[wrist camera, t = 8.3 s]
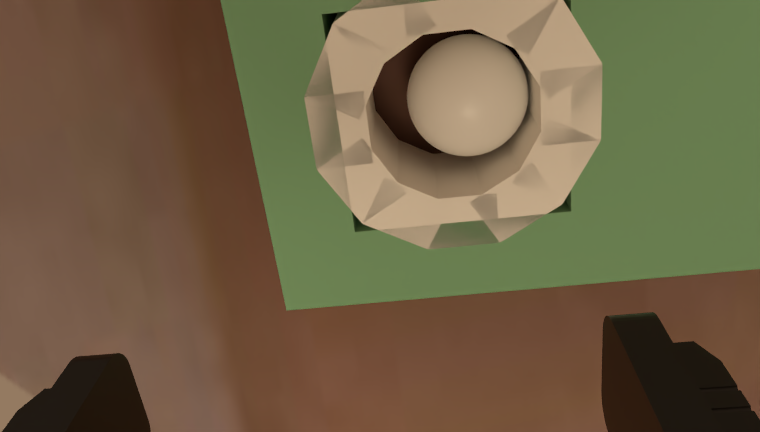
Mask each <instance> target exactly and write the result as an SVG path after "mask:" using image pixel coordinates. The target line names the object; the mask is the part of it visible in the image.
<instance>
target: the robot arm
mask: <svg viewBox="0 0 760 432" xmlns="http://www.w3.org/2000/svg"><path fill="white" fill-rule="evenodd" d="M602 405H603V412H604V418H605V422H606V426H607V430H608V432H760V420H759V418H758V416H757V415H756V413H755V412H754V411H751V406H750V404H749V403H748V401H747V400H746V398H745V397H744V395H743V394H742V392H741V391H740V390H739V391H738V389H737V385H736V383H735V382H734V380H733V378H732V377H731V375H730V374H729V372H728V371H727V369H726V368H725V366H724V365H723V363H722V362H721V361H720V360H719V359H717V358H716V357H715V356H713V355H712V354H710V353H709V352H708V351H706V350H705V349H704V348H702V347H701V346H699V345H698V344H697V343H695V342H694V341H692V342H679V343H673V342H672V340H671V339H670V337H669V335H668V333H667V332H666V330H665V328H664V326H663V325H662V323H661V321H660V320H659V318H658V316H657V315H656V314H655V313H653V312H652V313H639V314H626V315H614V316H606V317H605V319H604V323H603V347H602ZM2 432H151V431H150V424H149V421H148V418H147V415H146V412H145V409H144V406H143V403H142V400H141V397H140V394H139V391H138V388H137V385H136V382H135V379H134V376H133V373H132V370H131V368H130V365H129V362H128V360H127V358H126V357H125V356H124V355H123V354H120V353H116V354H104V355H91V356H78V357H75V358H73V359H72V360H71V361H70V362H69V364H68V365H67V367H66V368H65V369H64V371H63V372H62V374H61V375H60V377H59V378H58V379H57V381H56V382H55V384H54V385H53V387H52V388H50V389H44V390H43V391H41V392H40V393H39V394H38V395H36V396H35V397H34V398H33V399H32V400H30V401H29V402H28V403H27V404H25V405H24V406H23V407H22V408H20V409H19V410H18V411H17V412H16V413H15V415H14V416H13V418H12V419H11V420H10V422H9V423H8V424H7V426H6V427H5V428H4V430H3V431H2Z"/></svg>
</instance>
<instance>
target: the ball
mask: <svg viewBox="0 0 760 432" xmlns="http://www.w3.org/2000/svg"><path fill="white" fill-rule="evenodd" d="M527 104H528V83H527V79H526V75H525V72H524V70H523V68H522V66H521V64H520V62H519V61H518V59H517V58H516V56H515V55H514V54H513V53H512V52H511V51H510V50H509V49H508V48H507V47H505V46H504V45H503V44H501V43H500V42H498V41H496V40H494V39H492V38H489V37H486V36H482V35H476V34H461V35H456V36H452V37H449V38H446V39H444V40H441V41H440V42H438V43H436V44H435V45H433V46H432V47H431V48H429V49H428V50H427V51H426V52H425V53H424V54H423V55H422V56H421V58H420V59H419V60H418V62H417V63H416V65H415V67H414V69H413V71H412V73H411V76H410V79H409V83H408V88H407V105H408V110H409V114H410V117H411V120H412V122H413V124H414V126H415V128H416V129H417V131H418V132H419V133H420V135H421V136H422V137H423V138H424V139H425V140H426V141H427V142H428V143H429V144H431V145H432V146H433V147H435V148H437V149H438V150H441V151H443V152H445V153H448V154H452V155H456V156H476V155H482V154H485V153H487V152H490V151H493V150H494V149H496V148H498V147H500V146H501V145H503V144H504V143H505V142H506V141H507V140H509V139H510V138H511V137H512V136H513V134H514V133H515V132H516V131H517V129H518V128H519V126H520V124H521V122H522V120H523V118H524V115H525V113H526V109H527Z"/></svg>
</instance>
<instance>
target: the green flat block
mask: <svg viewBox="0 0 760 432" xmlns="http://www.w3.org/2000/svg"><path fill="white" fill-rule="evenodd" d="M221 5H222V9H223V14H224V19H225V23H226V28H227V33H228V38H229V42H230V47H231V52H232V56H233V61H234V66H235V70H236V75H237V80H238V84H239V89H240V94H241V99H242V103H243V108H244V113H245V117H246V122H247V127H248V131H249V136H250V141H251V146H252V150H253V155H254V160H255V164H256V169H257V174H258V178H259V183H260V188H261V193H262V197H263V202H264V207H265V211H266V216H267V221H268V225H269V230H270V235H271V239H272V244H273V249H274V254H275V258H276V263H277V268H278V272H279V277H280V282H281V286H282V291H283V296H284V301H285V305H286V310H297V309H309V308H320V307H331V306H343V305H354V304H366V303H377V302H388V301H400V300H411V299H422V298H434V297H445V296H457V295H468V294H479V293H491V292H502V291H513V290H525V289H536V288H548V287H559V286H570V285H582V284H593V283H605V282H616V281H627V280H639V279H650V278H661V277H673V276H684V275H696V274H707V273H718V272H730V271H741V270H752V269H760V0H221ZM337 12H338V13H337ZM467 29H473V30H475V31H477V32H479V33H482V34H484V35H486V36H488V37H490V38H493V39H495V40H497V41H499V42H502V43H504V44H506V45H508V46H510V47H513V48H514V49H515V50H516V52H517V53H518V55H519V62H520V64H521V66H522V68H523V70H524V72H525V75H526V79H527V83H528V104H527V109H526V113H525V115H524V118H523V120H522V122H521V124H520V126H519V128H518V129H517V131H516V132H515V133H514V134H513V136H512V137H511V138H510V139H509V140H507V141H506V142H505V143H504V144H503V145H501V146H500V147H498V148H496V149H494V150H493V151H490V152H487V153H485V154H482V155H476V156H456V155H452V154H448V153H437V154H432V153H429V152H427V151H424V150H422V149H420V148H417V147H415V146H412V145H410V144H408V143H405V142H403V141H400V140H398V139H397V137H396V136H395V135H394V134H393V132H392V131H391V130H390V128H389V127H388V126H387V124H386V123H385V122H384V121H383V119H382V118H381V117H380V115H379V114H378V113H377V112H376V110H375V103H374V95H373V87H374V85H375V83H376V81H377V78H378V76H379V74H380V71H381V69H382V67H383V64H384V63H385V62H387V61H388V60H389V59H391V58H392V57H393V56H395V55H396V54H397V53H399V52H400V51H401V50H403V49H404V48H406V47H407V46H408V45H410V44H411V43H412V42H414V41H415V40H416V39H418V38H419V37H420V36H422V35H424V34H433V33H442V32H450V31H459V30H467Z"/></svg>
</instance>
